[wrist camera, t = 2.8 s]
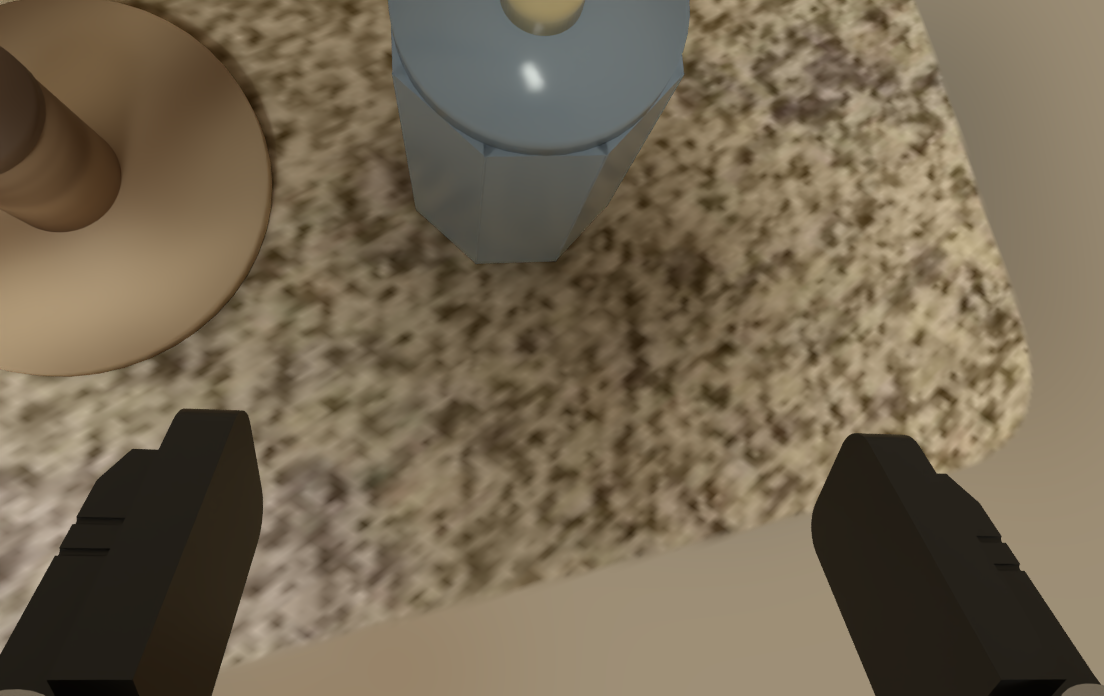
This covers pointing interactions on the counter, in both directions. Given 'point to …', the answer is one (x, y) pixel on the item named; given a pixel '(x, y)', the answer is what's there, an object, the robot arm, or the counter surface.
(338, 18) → the counter surface
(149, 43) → the trivet
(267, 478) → the counter surface
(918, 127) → the counter surface
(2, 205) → the spice jar
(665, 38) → the octagonal knobbed canister
